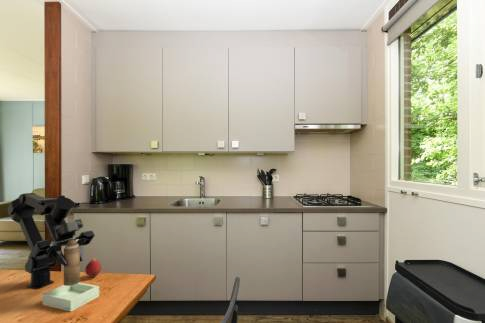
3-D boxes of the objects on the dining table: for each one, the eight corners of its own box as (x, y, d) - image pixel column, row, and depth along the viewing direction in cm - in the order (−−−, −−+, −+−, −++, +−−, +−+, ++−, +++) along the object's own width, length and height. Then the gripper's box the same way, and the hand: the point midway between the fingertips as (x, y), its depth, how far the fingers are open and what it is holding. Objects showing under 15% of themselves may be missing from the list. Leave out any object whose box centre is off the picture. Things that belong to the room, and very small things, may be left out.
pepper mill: (61, 283, 96) (61, 239, 96) (76, 278, 100) (76, 236, 100) (66, 287, 93) (66, 242, 93) (82, 282, 97) (82, 239, 97)
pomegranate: (94, 281, 112) (94, 261, 112) (82, 280, 113) (82, 260, 113) (104, 275, 118) (104, 256, 118) (92, 274, 119) (92, 255, 119)
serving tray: (42, 304, 93) (42, 294, 93) (72, 290, 104) (72, 281, 104) (70, 311, 89) (70, 300, 89) (99, 296, 99) (99, 286, 99)
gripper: (35, 217, 91) (52, 257, 85) (92, 209, 106) (109, 242, 101) (25, 238, 95) (40, 277, 89) (80, 227, 111) (96, 260, 105)
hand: (74, 263), depth 96 cm, fingers closed on pepper mill, 5 cm apart
